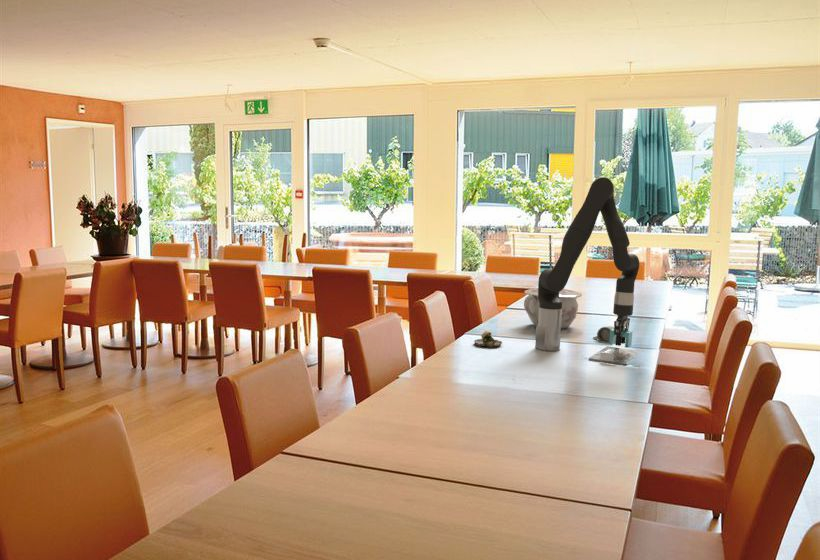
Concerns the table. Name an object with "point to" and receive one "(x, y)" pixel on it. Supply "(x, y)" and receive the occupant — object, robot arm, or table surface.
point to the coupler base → (617, 360)
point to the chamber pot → (567, 306)
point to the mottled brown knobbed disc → (487, 340)
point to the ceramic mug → (603, 333)
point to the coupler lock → (624, 334)
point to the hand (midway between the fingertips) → (620, 344)
